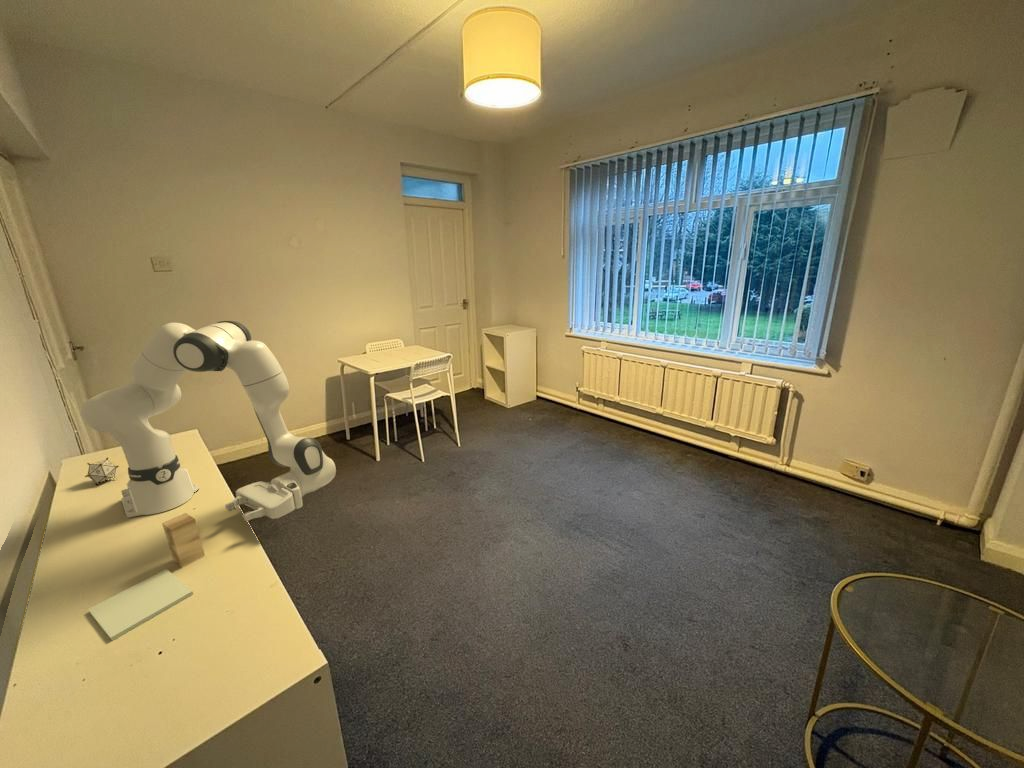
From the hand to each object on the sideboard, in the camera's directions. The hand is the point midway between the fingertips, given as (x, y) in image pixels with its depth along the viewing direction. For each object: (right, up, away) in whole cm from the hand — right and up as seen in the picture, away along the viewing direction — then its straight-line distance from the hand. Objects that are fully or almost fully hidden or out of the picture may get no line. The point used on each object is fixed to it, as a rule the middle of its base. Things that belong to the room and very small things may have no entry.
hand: (235, 513), depth 113 cm
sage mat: (-6, -13, -22) cm, 26 cm away
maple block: (-6, -9, -8) cm, 14 cm away
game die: (-68, +1, +32) cm, 75 cm away
